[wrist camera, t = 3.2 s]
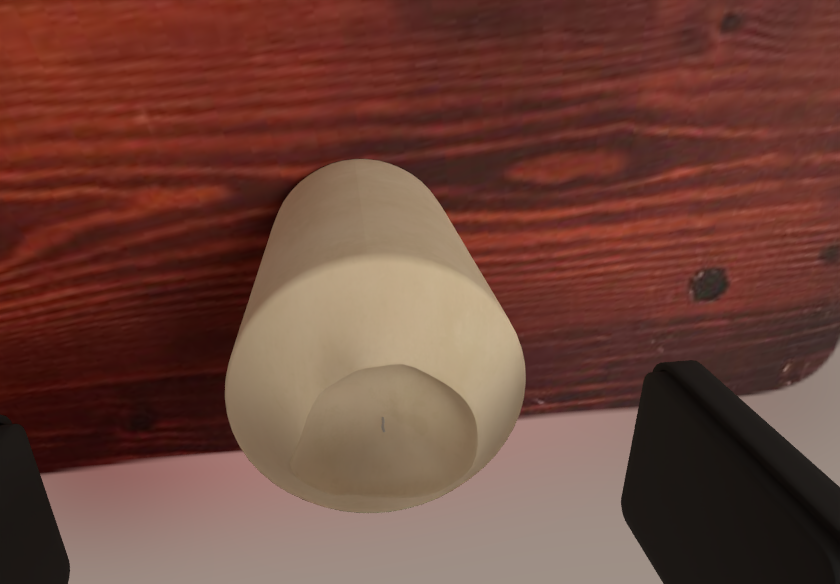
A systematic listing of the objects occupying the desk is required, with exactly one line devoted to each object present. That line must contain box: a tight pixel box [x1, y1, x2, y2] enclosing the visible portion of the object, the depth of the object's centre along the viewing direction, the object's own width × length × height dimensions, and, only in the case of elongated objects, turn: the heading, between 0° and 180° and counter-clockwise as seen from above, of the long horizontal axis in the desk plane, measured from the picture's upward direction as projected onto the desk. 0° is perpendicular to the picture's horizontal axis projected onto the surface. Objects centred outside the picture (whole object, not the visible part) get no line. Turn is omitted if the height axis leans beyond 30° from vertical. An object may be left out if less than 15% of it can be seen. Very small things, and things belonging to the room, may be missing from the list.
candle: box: [225, 159, 526, 513], centre depth 14 cm, size 6×6×10 cm
